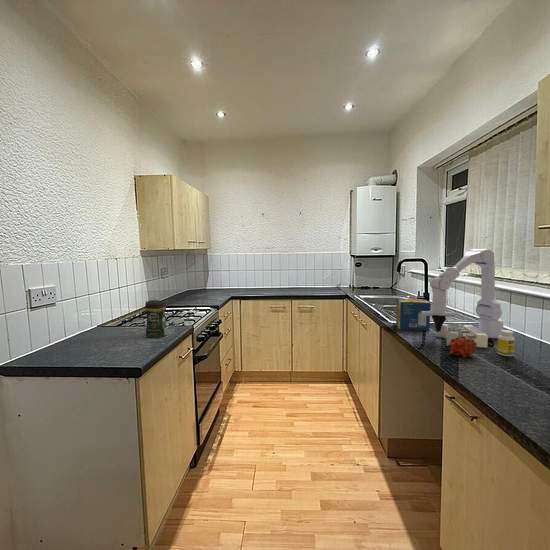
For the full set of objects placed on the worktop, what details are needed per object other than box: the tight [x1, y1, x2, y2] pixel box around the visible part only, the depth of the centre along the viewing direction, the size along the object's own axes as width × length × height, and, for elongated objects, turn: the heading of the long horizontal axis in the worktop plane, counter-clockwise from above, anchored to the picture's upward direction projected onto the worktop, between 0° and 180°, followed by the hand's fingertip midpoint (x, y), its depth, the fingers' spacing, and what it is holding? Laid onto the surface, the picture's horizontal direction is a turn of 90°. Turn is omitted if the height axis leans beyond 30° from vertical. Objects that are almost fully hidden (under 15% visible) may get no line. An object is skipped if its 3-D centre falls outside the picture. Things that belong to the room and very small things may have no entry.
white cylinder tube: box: [437, 323, 449, 339], centre depth 152 cm, size 4×4×6 cm
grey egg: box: [446, 330, 460, 347], centre depth 138 cm, size 4×4×6 cm
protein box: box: [395, 298, 431, 332], centre depth 168 cm, size 10×15×16 cm
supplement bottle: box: [496, 329, 515, 357], centre depth 126 cm, size 5×5×10 cm
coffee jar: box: [144, 299, 168, 339], centre depth 156 cm, size 10×8×19 cm
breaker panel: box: [456, 324, 489, 348], centre depth 144 cm, size 7×18×6 cm, turn 166°
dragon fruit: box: [446, 336, 478, 358], centre depth 125 cm, size 8×8×12 cm
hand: (438, 331), depth 146 cm, fingers closed
